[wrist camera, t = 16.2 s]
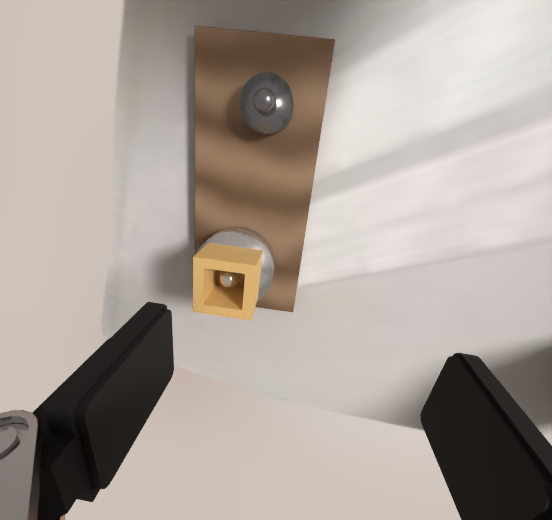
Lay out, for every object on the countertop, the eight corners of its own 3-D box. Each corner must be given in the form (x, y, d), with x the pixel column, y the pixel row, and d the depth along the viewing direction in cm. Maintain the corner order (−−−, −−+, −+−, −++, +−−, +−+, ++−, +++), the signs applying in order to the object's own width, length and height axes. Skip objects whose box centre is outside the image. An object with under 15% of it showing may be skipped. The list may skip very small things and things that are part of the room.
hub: (203, 221, 32) (183, 235, 26) (279, 231, 31) (274, 247, 26) (202, 289, 35) (184, 313, 29) (271, 298, 34) (266, 325, 29)
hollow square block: (208, 242, 29) (193, 256, 25) (262, 250, 29) (256, 265, 25) (207, 291, 31) (192, 311, 27) (257, 298, 31) (251, 320, 27)
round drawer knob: (245, 75, 26) (235, 60, 22) (296, 81, 26) (296, 66, 22) (242, 132, 28) (232, 128, 24) (290, 137, 28) (288, 134, 24)
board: (200, 32, 26) (194, 25, 25) (333, 46, 26) (334, 39, 24) (199, 293, 37) (195, 298, 35) (293, 306, 36) (292, 312, 35)
